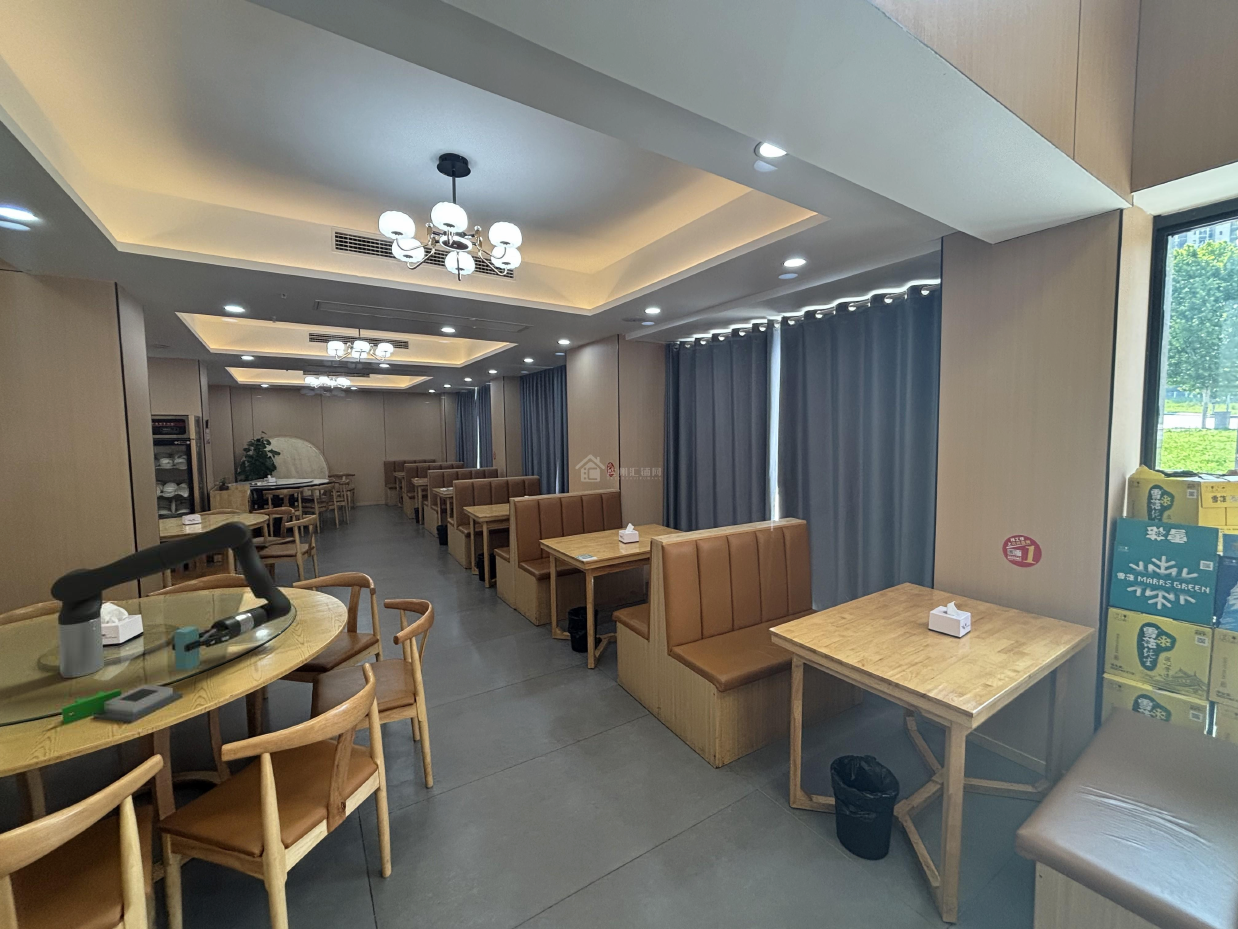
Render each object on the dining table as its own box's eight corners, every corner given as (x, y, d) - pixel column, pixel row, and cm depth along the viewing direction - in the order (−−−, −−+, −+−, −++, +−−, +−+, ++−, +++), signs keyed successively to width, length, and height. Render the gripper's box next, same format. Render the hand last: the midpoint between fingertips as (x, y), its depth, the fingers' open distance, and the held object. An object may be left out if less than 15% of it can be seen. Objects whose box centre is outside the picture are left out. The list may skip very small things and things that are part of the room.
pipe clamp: (117, 701, 142) (116, 686, 142) (122, 705, 140) (121, 689, 140) (60, 720, 132) (59, 704, 132) (64, 725, 130) (63, 708, 130)
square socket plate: (93, 717, 133) (92, 705, 133) (146, 692, 146) (146, 681, 146) (131, 723, 131) (131, 710, 131) (182, 697, 144) (182, 685, 144)
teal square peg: (175, 669, 149) (174, 631, 148) (189, 663, 153) (187, 626, 152) (186, 670, 148) (185, 632, 148) (199, 664, 152) (198, 627, 152)
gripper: (215, 613, 166) (159, 634, 149) (250, 617, 163) (198, 638, 147) (215, 635, 166) (160, 657, 150) (251, 639, 164) (198, 662, 147)
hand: (179, 648), depth 148 cm, fingers closed on teal square peg, 4 cm apart
